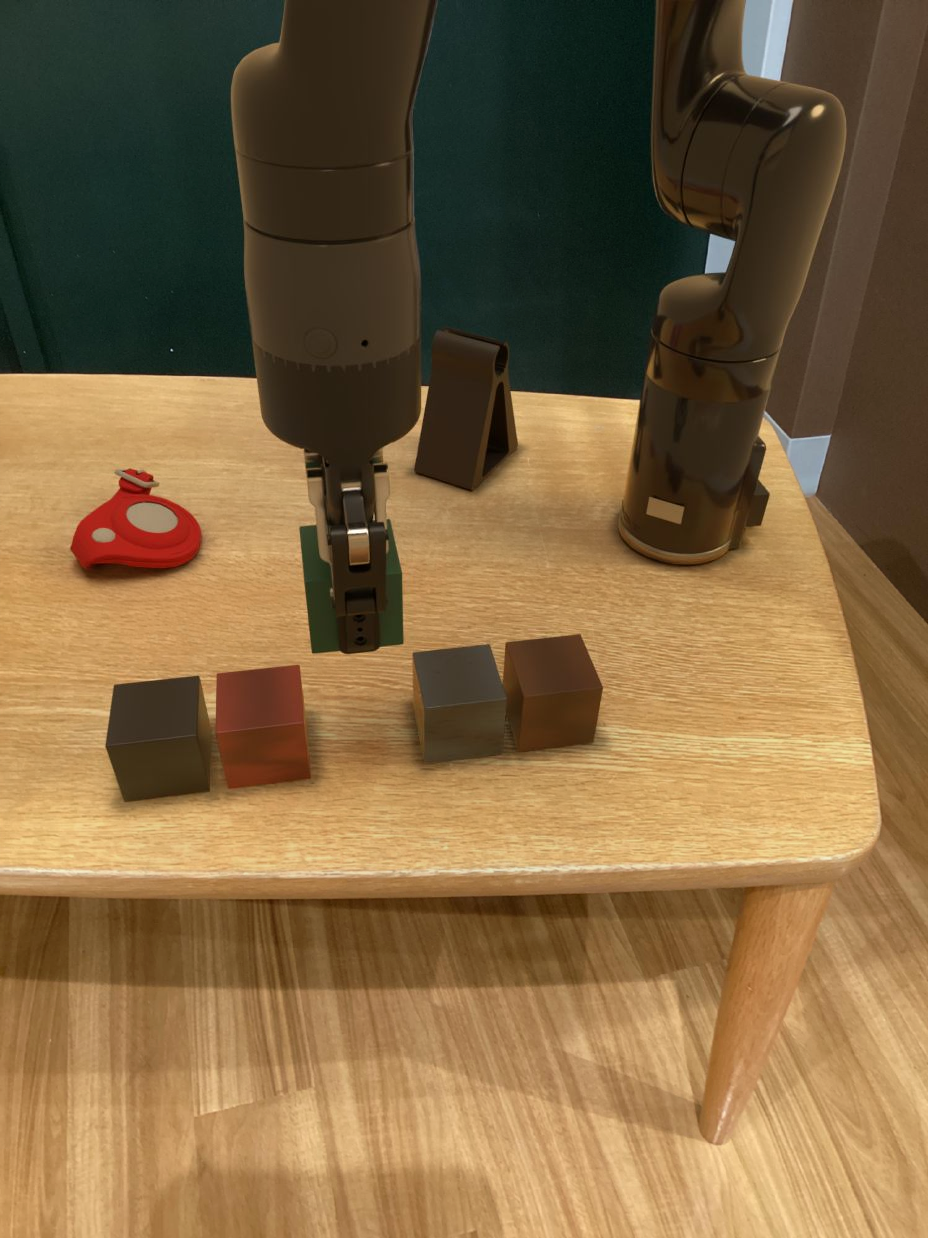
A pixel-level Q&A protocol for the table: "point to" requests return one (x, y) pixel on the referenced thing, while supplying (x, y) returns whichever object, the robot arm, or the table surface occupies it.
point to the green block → (321, 604)
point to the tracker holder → (137, 528)
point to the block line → (277, 728)
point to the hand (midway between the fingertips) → (354, 614)
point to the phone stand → (466, 410)
